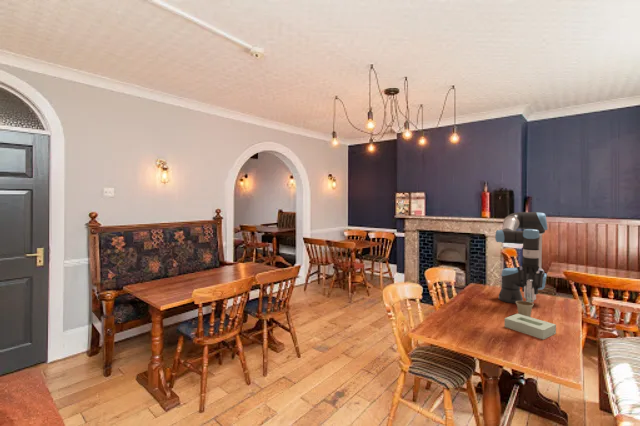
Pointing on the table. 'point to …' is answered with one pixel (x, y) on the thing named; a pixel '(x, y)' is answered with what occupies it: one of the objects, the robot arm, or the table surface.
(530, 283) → the pin
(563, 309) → the table surface
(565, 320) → the table surface
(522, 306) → the flower pot
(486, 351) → the table surface
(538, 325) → the slot block
